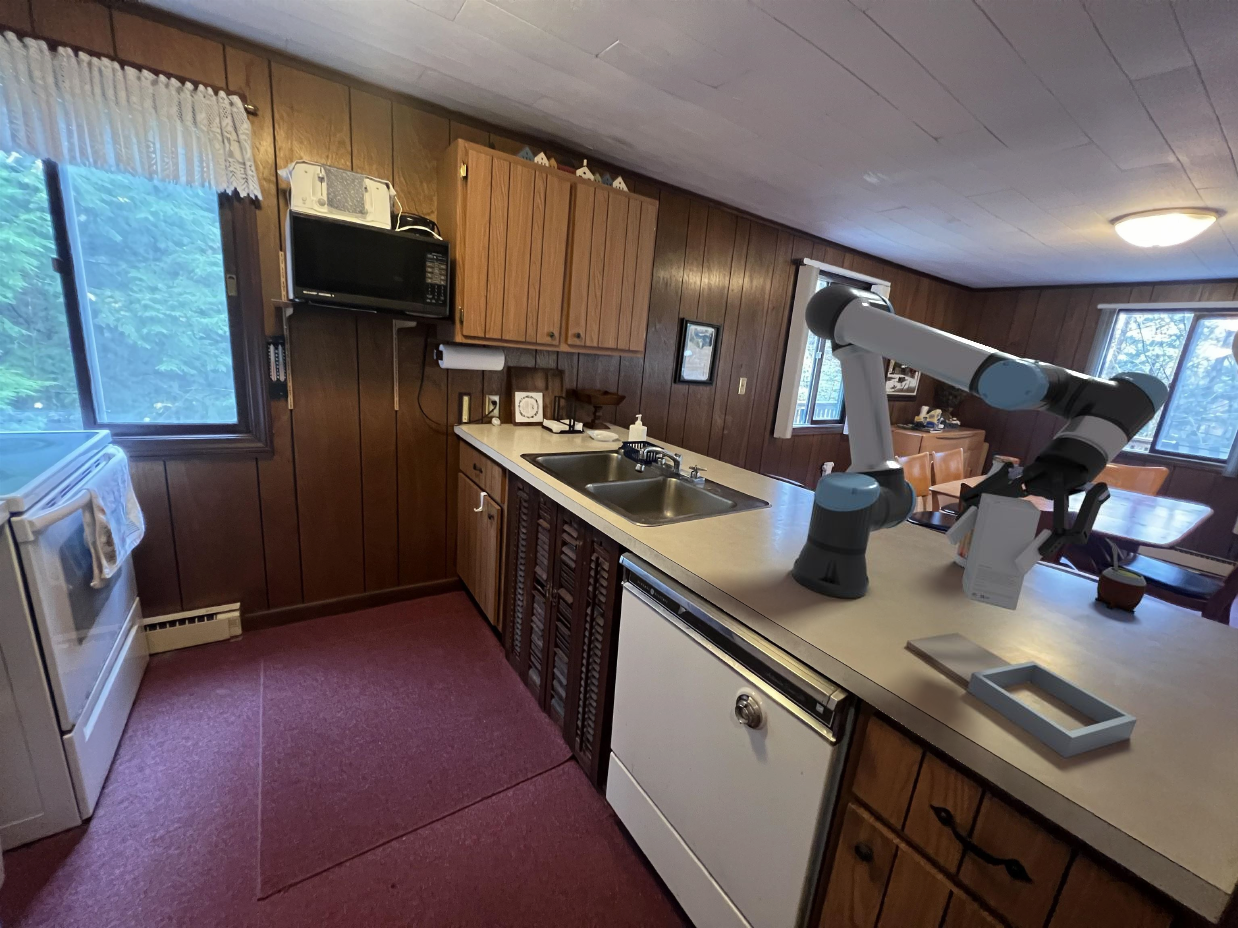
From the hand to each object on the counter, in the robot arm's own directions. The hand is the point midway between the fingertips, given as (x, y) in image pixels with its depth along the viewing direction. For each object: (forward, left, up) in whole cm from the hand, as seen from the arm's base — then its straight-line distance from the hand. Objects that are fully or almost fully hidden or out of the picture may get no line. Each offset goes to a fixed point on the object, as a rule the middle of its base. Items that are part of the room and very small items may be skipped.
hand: (983, 552), depth 74 cm
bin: (+12, +3, -20) cm, 23 cm away
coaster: (0, +3, -20) cm, 20 cm away
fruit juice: (-29, +47, -20) cm, 59 cm away
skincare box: (0, +3, -8) cm, 8 cm away
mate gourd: (-8, +59, -20) cm, 63 cm away
